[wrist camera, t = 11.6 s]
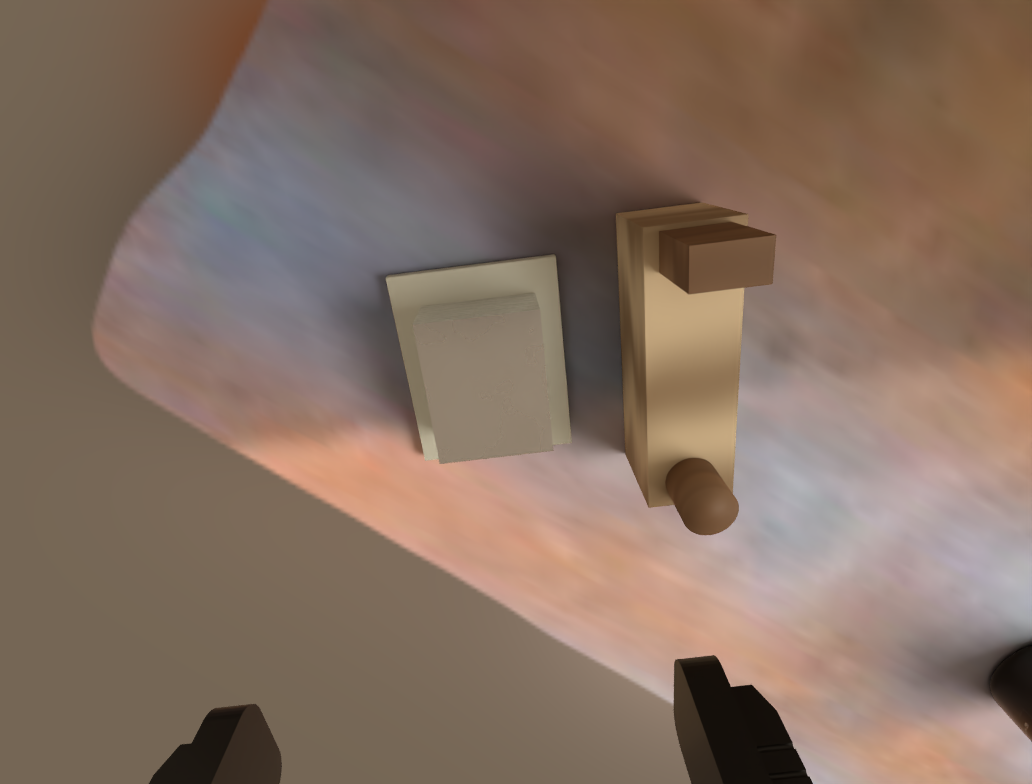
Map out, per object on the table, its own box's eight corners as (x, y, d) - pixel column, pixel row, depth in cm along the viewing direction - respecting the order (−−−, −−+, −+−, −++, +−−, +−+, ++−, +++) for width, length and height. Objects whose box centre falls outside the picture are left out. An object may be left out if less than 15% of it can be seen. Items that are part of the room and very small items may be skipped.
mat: (387, 275, 26) (385, 277, 25) (554, 254, 26) (555, 256, 25) (426, 454, 30) (425, 460, 29) (570, 437, 30) (571, 442, 29)
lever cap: (420, 306, 26) (412, 324, 23) (535, 292, 26) (540, 309, 23) (444, 433, 29) (439, 463, 26) (547, 421, 29) (553, 450, 26)
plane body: (615, 213, 25) (670, 241, 17) (701, 202, 25) (795, 226, 17) (625, 453, 30) (671, 558, 23) (696, 445, 30) (766, 546, 23)
